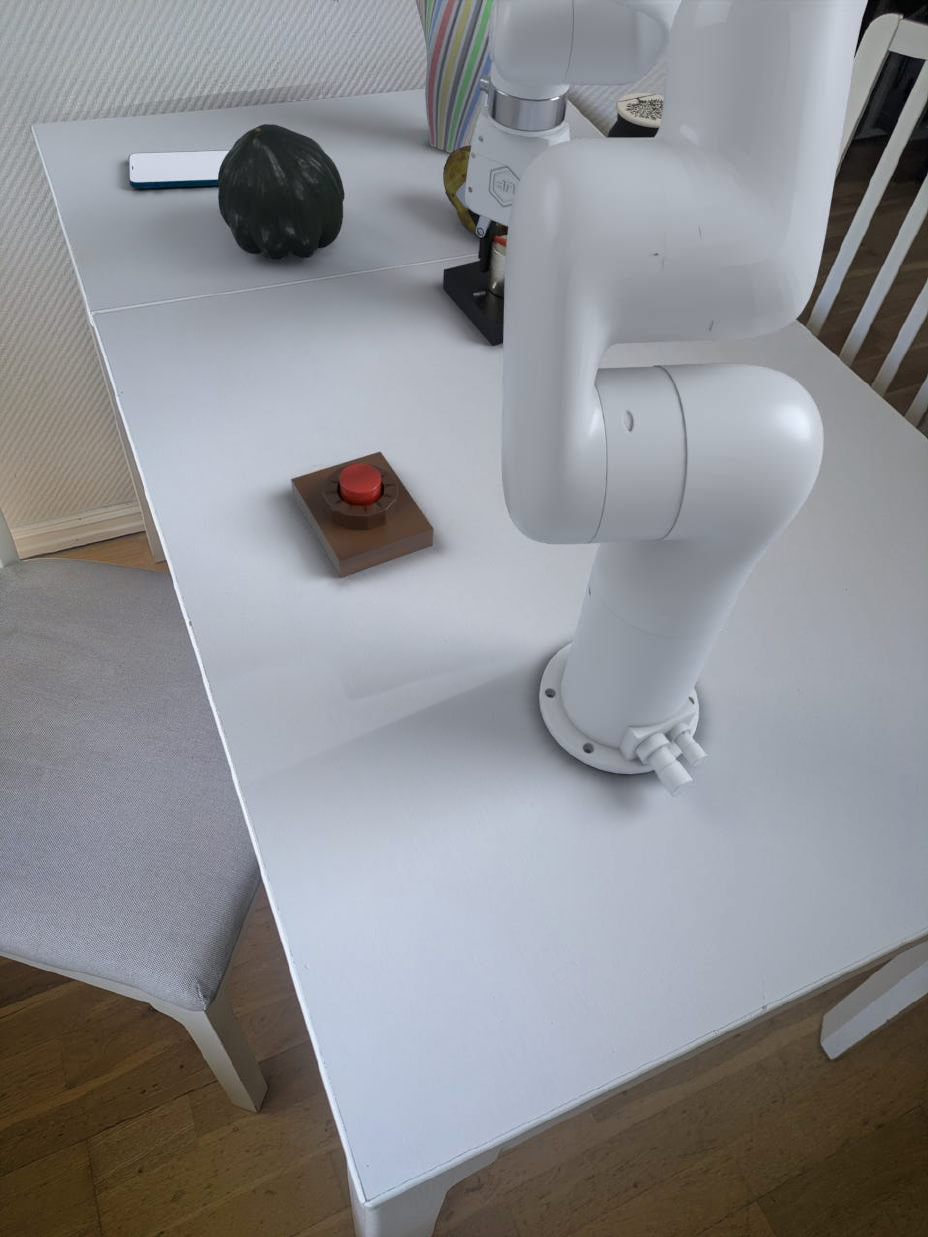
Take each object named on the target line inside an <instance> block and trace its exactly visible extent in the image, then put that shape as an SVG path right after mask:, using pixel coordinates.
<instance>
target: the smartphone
mask: <svg viewBox="0 0 928 1237" xmlns="http://www.w3.org/2000/svg"><path fill="white" fill-rule="evenodd" d="M230 150H231V149H221V150H220V149H219V150H217V149H216V150H190V151H189V150H187V151H182V150H181V151H155V152H153V151H150V152H133V153H130V154H129V155H128V181H129V186H130V187H131V188H133V189H158V188H161V189H162V188H185V187H187V188H189V187H212V186H213V187H215V186H218V173H219V170H220V166H221V164H222V161H223V160H224V158H225V156H226V155H227V154H228V152H229V151H230Z"/></svg>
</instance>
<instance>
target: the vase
mask: <svg viewBox="0 0 928 1237" xmlns="http://www.w3.org/2000/svg"><path fill="white" fill-rule="evenodd" d="M496 2H497V0H415V4H416V8H417V13H418V17H419V20H420V23H421V27H422V30H423V35H424V41H425V49H426V50H425V52H426V72H425V73H426V75H425V91H424V98H425V113H426V121H427V128H428V133H429V146H430V147H433V148H436V149H438V150H441V151H445V152H446V153H449V154H451V153H452V152H453V151H455V150H456V149H458V148H461V147H464V146H472V141H473V137H474V132H475V128H476V125H477V121H478V117H479V114H480V111H481V109H482V108H484V107H486V98H487V93H486V92H485V91H482V90H480V88H479V83H480V79H481V77H482V76H483V75H486V76H491V68H492V61H491V58H490V54H489V23H490V18H491V12H492V9H493V6H494V4H495V3H496Z"/></svg>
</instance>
